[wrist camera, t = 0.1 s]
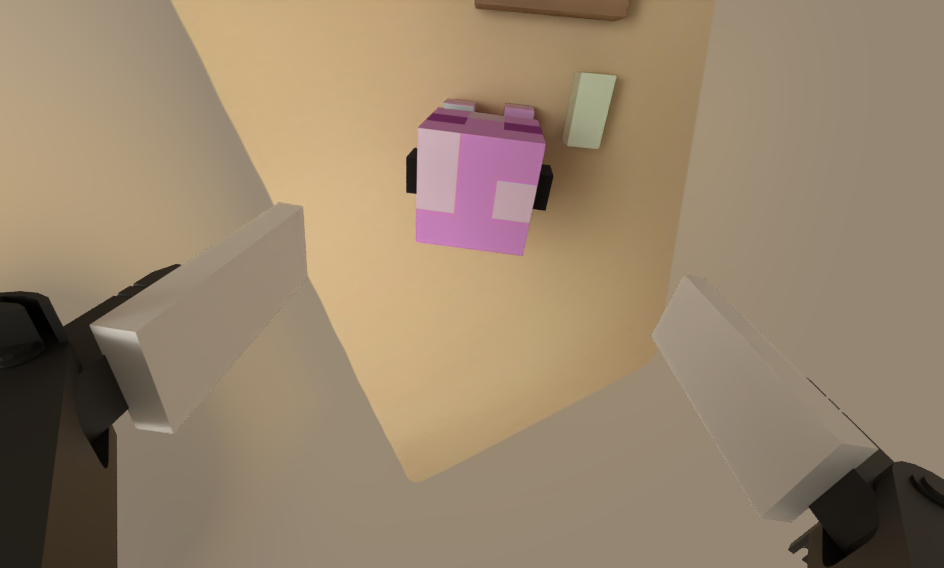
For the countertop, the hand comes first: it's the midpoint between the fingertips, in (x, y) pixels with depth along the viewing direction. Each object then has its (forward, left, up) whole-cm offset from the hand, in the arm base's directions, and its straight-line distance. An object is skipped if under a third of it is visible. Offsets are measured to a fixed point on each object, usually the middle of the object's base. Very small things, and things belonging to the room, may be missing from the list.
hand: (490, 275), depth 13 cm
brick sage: (-3, +9, -28) cm, 30 cm away
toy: (+1, 0, -28) cm, 28 cm away
